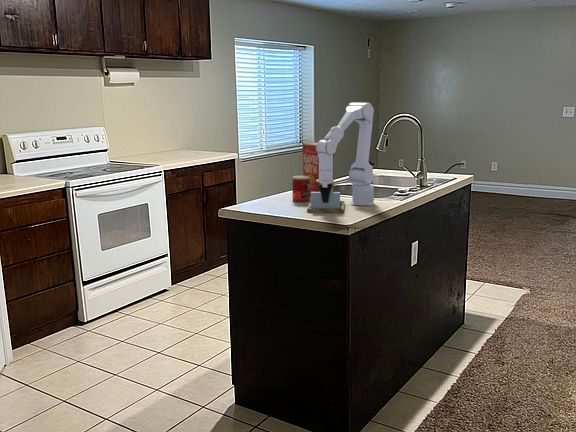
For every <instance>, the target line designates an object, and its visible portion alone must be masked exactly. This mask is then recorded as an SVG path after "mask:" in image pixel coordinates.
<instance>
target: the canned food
mask: <svg viewBox="0 0 576 432" xmlns="http://www.w3.org/2000/svg"><path fill="white" fill-rule="evenodd" d="M309 194H310V177H309V176H303V175H293V176H292V201H293V202H295V203H307V202H310V197H309Z"/></svg>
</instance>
